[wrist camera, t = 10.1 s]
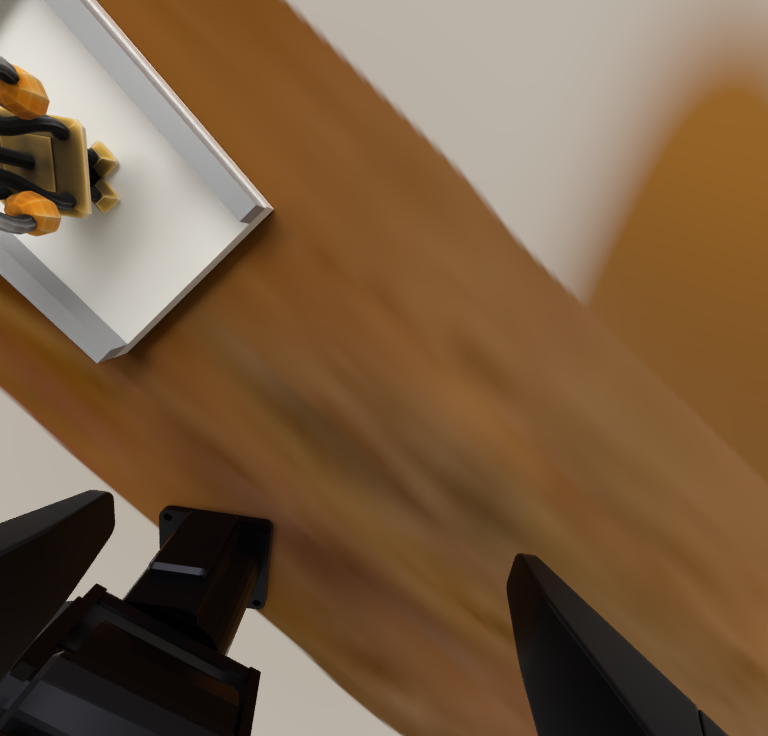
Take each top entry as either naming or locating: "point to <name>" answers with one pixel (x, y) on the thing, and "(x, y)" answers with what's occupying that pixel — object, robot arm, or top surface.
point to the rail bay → (121, 183)
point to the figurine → (46, 160)
